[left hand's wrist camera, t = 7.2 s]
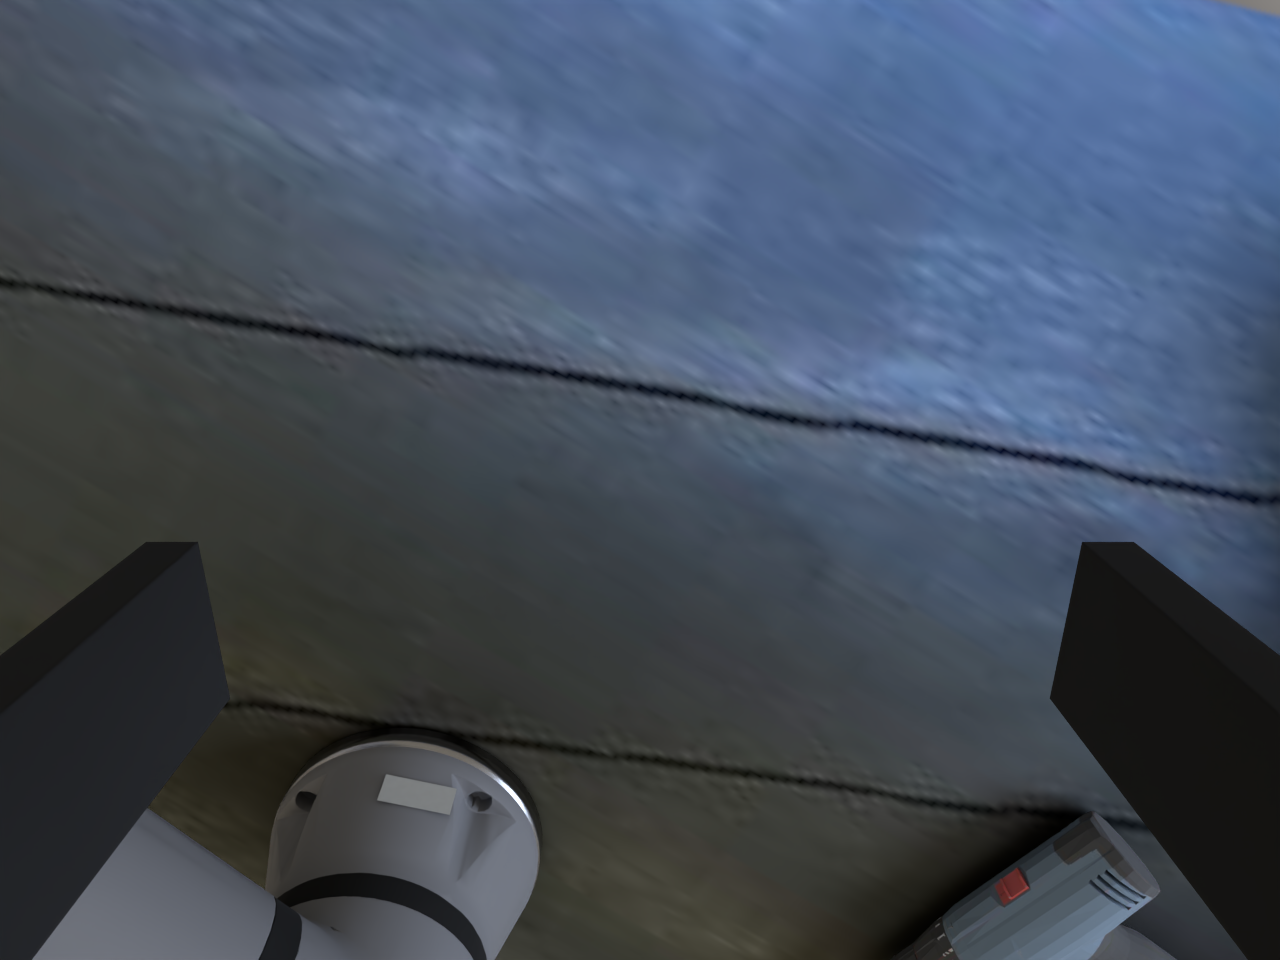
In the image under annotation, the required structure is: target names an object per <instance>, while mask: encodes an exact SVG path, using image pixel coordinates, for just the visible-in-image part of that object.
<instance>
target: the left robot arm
mask: <svg viewBox="0 0 1280 960" xmlns="http://www.w3.org/2000/svg"><path fill="white" fill-rule="evenodd" d="M229 699H230V696H229V691H228V686H227V681H226V676H225V671H224V666H223V662H222V657H221V652H220V647H219V642H218V637H217V633H216V628H215V623H214V618H213V613H212V608H211V604H210V599H209V594H208V589H207V584H206V579H205V575H204V570H203V565H202V560H201V555H200V550H199V545H198V542H146V543H144V544H143V545H142V546H141V547H139V548H138V549H137V550H135V551H134V552H133V553H132V554H130V555H129V556H128V557H126V558H125V559H124V560H123V561H121V562H120V563H119V564H117V565H116V566H115V567H114V568H112V569H111V570H110V571H108V572H107V573H106V574H105V575H103V576H102V577H101V578H99V579H98V580H97V581H96V582H94V583H93V584H92V585H90V586H89V587H88V588H87V589H85V590H84V591H83V592H81V593H80V594H79V595H78V596H76V597H75V598H74V599H73V600H71V601H70V602H69V603H67V604H66V605H65V606H64V607H62V608H61V609H60V610H58V611H57V612H56V613H55V614H53V615H52V616H51V617H49V618H48V619H47V620H46V621H44V622H43V623H42V624H40V625H39V626H38V627H37V628H35V629H34V630H33V631H31V632H30V633H29V634H28V635H26V636H25V637H24V638H22V639H21V640H20V641H19V642H17V643H16V644H15V645H13V646H12V647H11V648H10V649H8V650H7V651H6V652H4V653H3V654H2V655H1V656H0V960H495V958H496V956H497V955H498V953H499V951H500V949H501V948H502V946H503V944H504V942H505V941H506V939H507V937H508V935H509V934H510V932H511V930H512V928H513V927H514V925H515V923H516V922H517V920H518V918H519V916H520V915H521V913H522V911H523V909H524V908H525V906H526V904H527V902H528V900H529V898H530V895H531V893H532V891H533V888H534V886H535V883H536V880H537V876H538V870H539V863H540V856H541V849H542V828H541V822H540V818H539V814H538V812H537V809H536V806H535V804H534V802H533V800H532V798H531V796H530V794H529V793H528V791H527V790H526V788H525V787H524V785H523V784H522V783H521V781H520V780H519V779H518V778H517V777H516V775H515V774H514V773H513V772H512V771H511V770H510V769H509V768H507V767H506V766H505V765H504V764H503V763H502V762H500V761H499V760H498V759H496V758H495V757H494V756H492V755H491V754H489V753H488V752H486V751H484V750H482V749H481V748H479V747H477V746H475V745H473V744H471V743H469V742H467V741H464V740H462V739H459V738H456V737H454V736H450V735H447V734H443V733H440V732H435V731H430V730H423V729H415V728H385V729H377V730H371V731H366V732H362V733H358V734H355V735H352V736H349V737H346V738H344V739H342V740H339V741H337V742H335V743H333V744H331V745H329V746H328V747H326V748H325V749H323V750H322V751H320V752H319V753H317V754H316V755H315V756H314V757H313V758H311V759H310V760H309V761H308V762H307V763H306V764H305V765H304V766H303V768H302V769H301V770H300V771H299V773H298V774H297V775H296V777H295V779H294V780H293V782H292V784H291V786H290V788H289V789H288V791H287V793H286V795H285V797H284V798H283V800H282V802H281V804H280V806H279V808H278V811H277V813H276V817H275V821H274V825H273V829H272V833H271V840H270V849H269V858H268V867H267V876H266V885H265V889H263V888H262V887H260V886H259V885H257V884H256V883H255V882H253V881H252V880H250V879H249V878H247V877H246V876H244V875H243V874H242V873H240V872H239V871H237V870H236V869H234V868H233V867H232V866H230V865H229V864H227V863H226V862H224V861H223V860H222V859H220V858H219V857H217V856H216V855H214V854H213V853H212V852H210V851H209V850H207V849H206V848H204V847H203V846H202V845H200V844H199V843H197V842H196V841H194V840H193V839H191V838H190V837H189V836H187V835H186V834H184V833H183V832H181V831H180V830H179V829H177V828H176V827H174V826H173V825H171V824H170V823H169V822H167V821H166V820H164V819H163V818H161V817H160V816H159V815H157V814H156V813H154V812H153V811H151V810H150V809H149V808H147V807H148V806H149V805H150V803H151V802H152V801H153V799H154V798H155V797H156V796H157V794H158V793H159V792H160V790H161V789H162V788H163V786H164V785H165V784H166V782H167V781H168V780H169V778H170V777H171V776H172V774H173V773H174V772H175V770H176V769H177V768H178V766H179V765H180V764H181V763H182V761H183V760H184V759H185V757H186V756H187V755H188V753H189V752H190V751H191V749H192V748H193V747H194V745H195V744H196V743H197V741H198V740H199V739H200V737H201V736H202V735H203V733H204V732H205V731H206V730H207V728H208V727H209V726H210V724H211V723H212V722H213V720H214V719H215V718H216V716H217V715H218V714H219V712H220V711H221V710H222V708H223V707H224V706H225V704H226V703H227V702H228V701H229ZM1050 699H1051V701H1052V702H1053V703H1054V704H1055V706H1056V707H1057V708H1058V710H1059V711H1060V712H1061V714H1062V715H1063V716H1064V718H1065V719H1066V720H1067V722H1068V723H1069V724H1070V726H1071V727H1072V728H1073V730H1074V731H1075V732H1076V734H1077V735H1078V736H1079V737H1080V739H1081V740H1082V741H1083V743H1084V744H1085V745H1086V747H1087V748H1088V749H1089V751H1090V752H1091V753H1092V755H1093V756H1094V757H1095V759H1096V760H1097V761H1098V763H1099V764H1100V765H1101V766H1102V768H1103V769H1104V770H1105V772H1106V773H1107V774H1108V776H1109V777H1110V778H1111V780H1112V781H1113V782H1114V784H1115V785H1116V786H1117V788H1118V789H1119V790H1120V792H1121V793H1122V794H1123V796H1124V797H1125V798H1126V799H1127V801H1128V802H1129V803H1130V805H1131V806H1132V807H1133V809H1134V810H1135V811H1136V813H1137V814H1138V815H1139V817H1140V818H1141V819H1142V821H1143V822H1144V823H1145V825H1146V826H1147V827H1148V829H1149V830H1150V831H1151V832H1152V834H1153V835H1154V836H1155V838H1156V839H1157V840H1158V842H1159V843H1160V844H1161V846H1162V847H1163V848H1164V850H1165V851H1166V852H1167V854H1168V855H1169V856H1170V858H1171V859H1172V860H1173V861H1174V863H1175V864H1176V865H1177V867H1178V868H1179V869H1180V871H1181V872H1182V873H1183V875H1184V876H1185V877H1186V879H1187V880H1188V881H1189V883H1190V884H1191V885H1192V887H1193V888H1194V889H1195V891H1196V892H1197V893H1198V894H1199V896H1200V897H1201V898H1202V900H1203V901H1204V902H1205V904H1206V905H1207V906H1208V908H1209V909H1210V910H1211V912H1212V913H1213V914H1214V916H1215V917H1216V918H1217V920H1218V921H1219V922H1220V924H1221V925H1222V926H1223V927H1224V929H1225V930H1226V931H1227V933H1228V934H1229V935H1230V937H1231V938H1232V939H1233V941H1234V942H1235V943H1236V945H1237V946H1238V947H1239V949H1240V950H1241V951H1242V953H1243V954H1244V955H1245V956H1246V958H1247V959H1248V960H1280V656H1279V655H1278V654H1277V653H1276V652H1274V651H1273V650H1272V649H1270V648H1269V647H1268V646H1267V645H1265V644H1264V643H1263V642H1261V641H1260V640H1259V639H1258V638H1256V637H1255V636H1254V635H1252V634H1251V633H1250V632H1249V631H1247V630H1246V629H1245V628H1243V627H1242V626H1241V625H1240V624H1238V623H1237V622H1236V621H1234V620H1233V619H1232V618H1231V617H1229V616H1228V615H1227V614H1225V613H1224V612H1223V611H1222V610H1220V609H1219V608H1218V607H1216V606H1215V605H1214V604H1213V603H1211V602H1210V601H1209V600H1207V599H1206V598H1205V597H1204V596H1202V595H1201V594H1200V593H1199V592H1197V591H1196V590H1195V589H1193V588H1192V587H1191V586H1190V585H1188V584H1187V583H1186V582H1184V581H1183V580H1182V579H1181V578H1179V577H1178V576H1177V575H1175V574H1174V573H1173V572H1172V571H1170V570H1169V569H1168V568H1166V567H1165V566H1164V565H1163V564H1161V563H1160V562H1159V561H1157V560H1156V559H1155V558H1154V557H1152V556H1151V555H1150V554H1148V553H1147V552H1146V551H1145V550H1143V549H1142V548H1141V547H1139V546H1138V545H1137V544H1136V543H1134V542H1082V545H1081V550H1080V555H1079V560H1078V565H1077V570H1076V575H1075V579H1074V584H1073V589H1072V594H1071V599H1070V604H1069V608H1068V613H1067V618H1066V623H1065V628H1064V633H1063V637H1062V642H1061V647H1060V652H1059V657H1058V662H1057V666H1056V671H1055V676H1054V681H1053V686H1052V691H1051V696H1050Z"/></svg>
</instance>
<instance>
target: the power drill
mask: <svg viewBox="0 0 1280 960" xmlns="http://www.w3.org/2000/svg"><path fill="white" fill-rule="evenodd" d="M1159 892H1160V888H1159V885H1158V883H1157V882H1156V880H1155V878H1154V877H1153V876H1152V874H1151V873H1150V872H1149V870H1148V869H1147V867H1146V866H1145V864H1144V863H1143V862H1142V861H1141V859H1140V858H1139V857H1138V856H1137V854H1136V853H1135V852H1134V851H1133V850H1132V849H1131V847H1130V846H1129V845H1128V844H1127V843H1126V842H1125V840H1124V839H1123V838H1122V837H1121V836H1120V835H1119V834H1118V833H1117V832H1116V831H1115V830H1114V829H1113V828H1112V827H1111V826H1110V825H1109V824H1108V822H1106V821H1105V820H1104V819H1103V818H1102V817H1101V816H1099V815H1098V814H1097V813H1096V812H1094V811H1090V812H1088V813H1086V814H1084V815H1082V816H1081V817H1079V818H1078V819H1077V820H1075V821H1074V822H1073V823H1071V824H1069V825H1068V826H1067V827H1066V828H1064V829H1062V830H1061V832H1059V833H1057V834H1055V835H1054V836H1052V837H1051V838H1050V839H1048V840H1047V841H1045V842H1044V843H1042V844H1041V845H1039V846H1038V847H1037V848H1035V849H1034V850H1032V851H1031V852H1029V853H1028V854H1027V855H1025V856H1024V857H1022V858H1021V859H1019V860H1018V861H1016V862H1015V863H1014V864H1012V865H1011V866H1009V867H1008V868H1006V869H1005V870H1003V871H1002V872H1001V873H999V874H998V875H996V876H995V877H993V878H992V879H991V880H989V881H988V882H986V883H985V884H983V885H982V886H980V887H979V888H978V889H976V890H975V891H973V892H972V893H970V894H969V895H967V896H966V897H965V898H963V899H962V900H960V901H959V902H957V903H956V904H955V905H953V906H952V907H951V908H950V909H949V910H948V911H947V912H946V913H945V914H944V915H943V916H942V917H940V918H939V919H937V920H936V921H935V922H934V923H933V924H932V925H931V926H930V927H929V928H928V929H927V930H926V931H925V932H924V933H923V934H922V935H921V936H920V937H919V938H918V939H917V940H916V941H915V942H914V943H912V944H911V945H909V946H908V947H906V948H905V949H904V950H902V951H901V952H899V953H898V954H896V955H893V957H892V958H891V959H890V960H1177V959H1175V958H1174V957H1173V956H1171V955H1170V954H1169V953H1167V952H1166V951H1164V950H1163V949H1162V948H1160V947H1159V946H1157V945H1156V944H1155V943H1153V942H1152V941H1150V940H1149V939H1148V938H1146V937H1145V936H1143V935H1142V934H1141V933H1139V932H1137V931H1136V930H1134V929H1131V928H1129V927H1126V926H1123V925H1121V924H1120V923H1122V922H1123V921H1124V920H1125V919H1127V918H1128V917H1129V916H1131V915H1132V914H1133V913H1135V912H1136V911H1137V910H1139V909H1140V908H1142V907H1143V906H1144V905H1146V904H1147V903H1148V902H1150V901H1151V900H1152V899H1154V898H1155V897H1156V896H1157V895H1158V894H1159Z"/></svg>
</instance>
